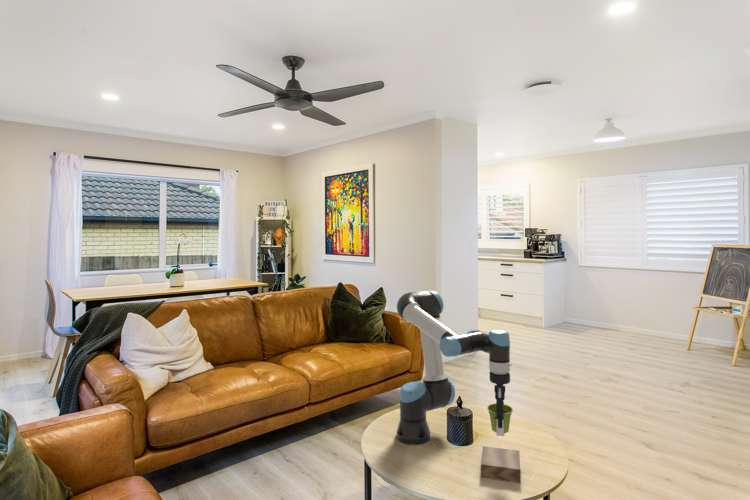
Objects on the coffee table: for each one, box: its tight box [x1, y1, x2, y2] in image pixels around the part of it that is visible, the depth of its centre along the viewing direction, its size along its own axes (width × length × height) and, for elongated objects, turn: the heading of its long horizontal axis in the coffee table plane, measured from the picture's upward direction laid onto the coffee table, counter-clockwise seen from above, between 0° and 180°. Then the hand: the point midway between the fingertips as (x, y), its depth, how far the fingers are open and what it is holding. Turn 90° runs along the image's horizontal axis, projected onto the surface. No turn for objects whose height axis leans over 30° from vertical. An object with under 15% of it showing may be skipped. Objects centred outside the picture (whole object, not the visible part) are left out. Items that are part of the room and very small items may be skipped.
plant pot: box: [486, 403, 514, 435], centre depth 162 cm, size 9×9×9 cm
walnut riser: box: [480, 445, 522, 484], centre depth 163 cm, size 14×14×5 cm
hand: (500, 429), depth 162 cm, fingers closed on plant pot, 8 cm apart
